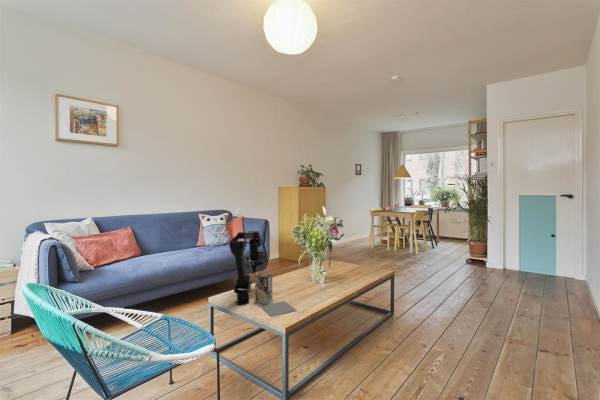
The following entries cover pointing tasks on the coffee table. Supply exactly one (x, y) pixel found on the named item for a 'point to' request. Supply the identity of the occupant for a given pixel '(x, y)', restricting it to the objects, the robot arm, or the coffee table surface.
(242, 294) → the robot arm
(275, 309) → the mat
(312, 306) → the coffee table surface
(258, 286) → the coffee box
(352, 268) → the coffee table surface
